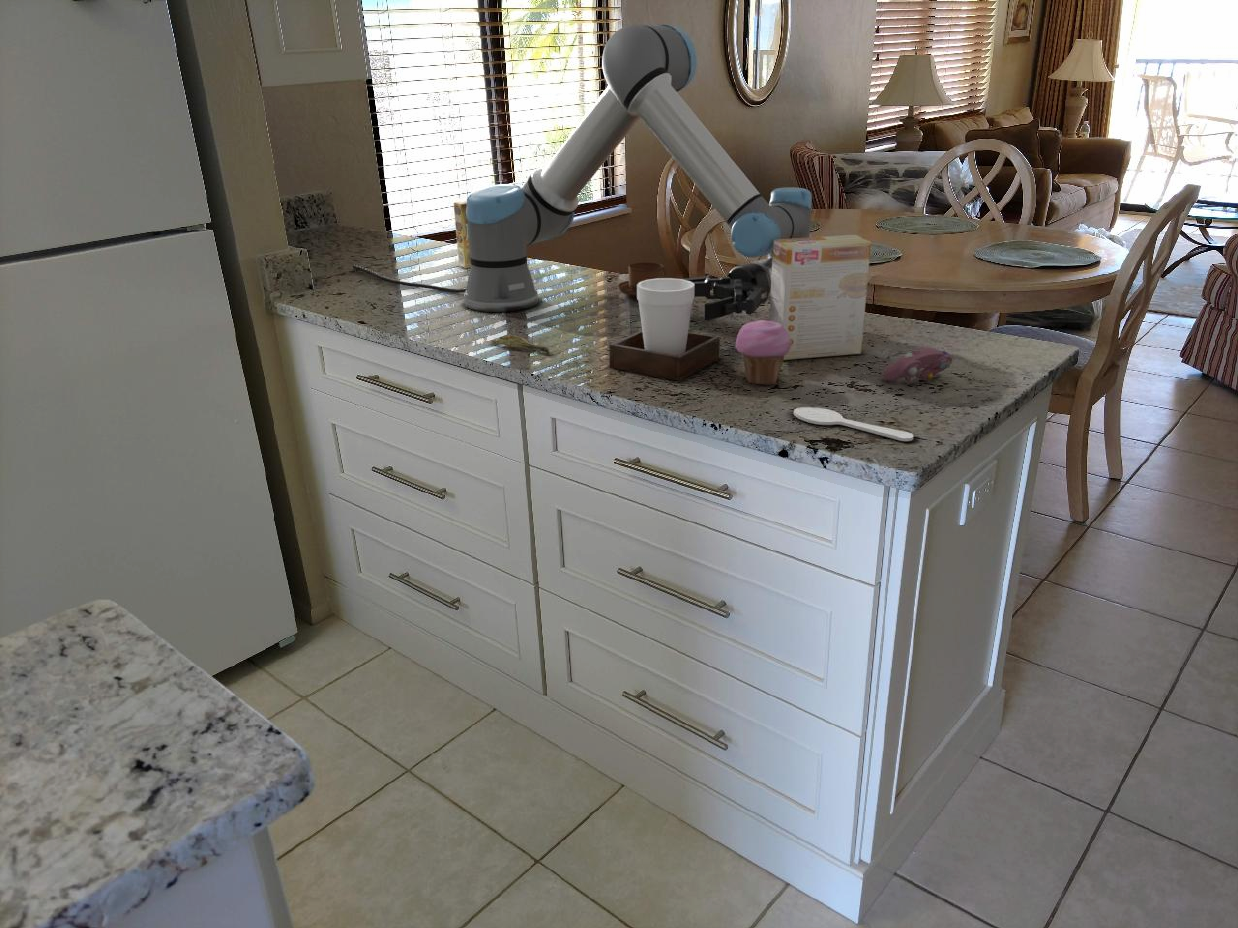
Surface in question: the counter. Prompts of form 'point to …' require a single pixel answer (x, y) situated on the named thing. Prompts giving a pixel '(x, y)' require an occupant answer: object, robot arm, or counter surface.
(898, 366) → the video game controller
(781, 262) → the coffeecake box
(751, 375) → the cupcake
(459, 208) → the candy box
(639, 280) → the cup and saucer
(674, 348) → the foam cup
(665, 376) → the wooden tray
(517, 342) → the olive green tapered piece
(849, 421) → the spoon
